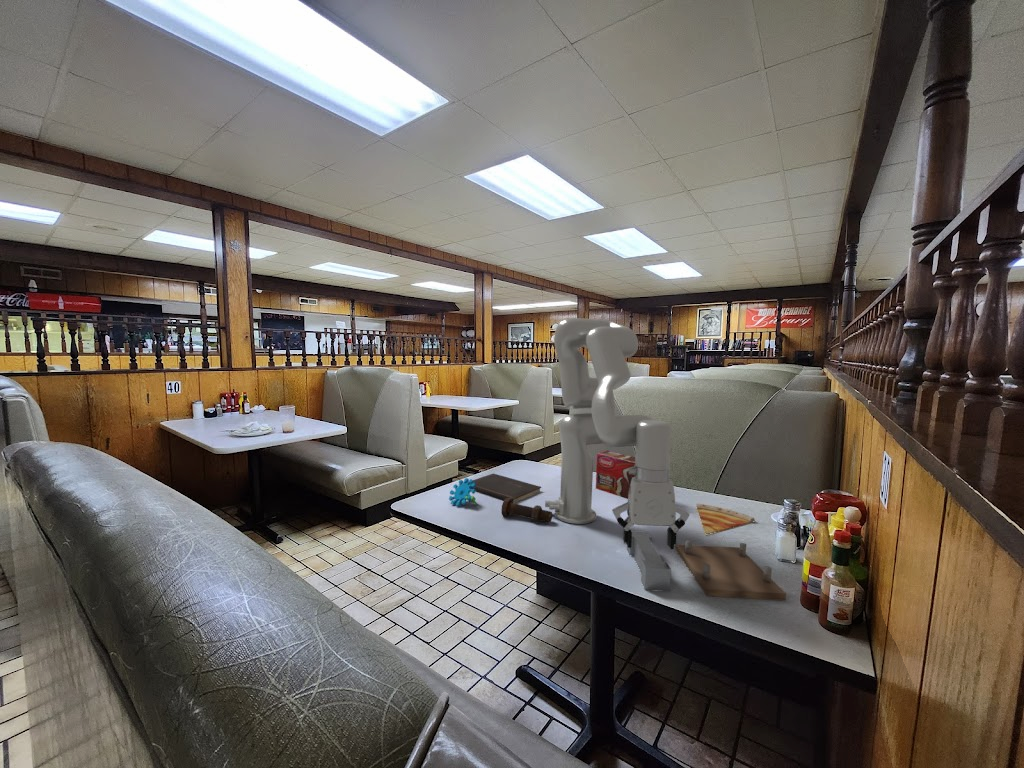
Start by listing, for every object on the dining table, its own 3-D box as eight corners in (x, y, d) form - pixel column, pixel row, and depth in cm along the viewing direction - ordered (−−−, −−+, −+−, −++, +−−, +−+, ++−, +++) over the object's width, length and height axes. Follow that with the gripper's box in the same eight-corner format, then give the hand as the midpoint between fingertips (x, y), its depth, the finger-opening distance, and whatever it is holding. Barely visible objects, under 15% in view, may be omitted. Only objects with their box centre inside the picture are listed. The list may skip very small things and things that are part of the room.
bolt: (549, 530, 122) (503, 519, 127) (554, 516, 126) (509, 506, 131) (547, 517, 119) (499, 507, 124) (553, 504, 122) (506, 494, 128)
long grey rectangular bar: (644, 590, 89) (645, 567, 89) (626, 549, 107) (627, 530, 107) (669, 591, 89) (670, 569, 89) (647, 550, 107) (648, 531, 107)
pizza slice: (662, 516, 130) (662, 510, 130) (709, 505, 140) (709, 499, 140) (705, 537, 116) (706, 530, 116) (754, 523, 127) (755, 517, 126)
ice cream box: (595, 488, 153) (597, 453, 152) (606, 485, 158) (607, 450, 156) (644, 504, 139) (646, 465, 137) (654, 500, 143) (656, 462, 142)
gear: (442, 495, 138) (462, 472, 141) (452, 504, 141) (472, 481, 144) (460, 511, 129) (481, 485, 132) (470, 520, 133) (490, 495, 136)
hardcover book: (493, 479, 163) (493, 473, 163) (541, 493, 149) (541, 486, 149) (463, 489, 151) (463, 483, 151) (512, 505, 136) (513, 498, 136)
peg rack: (706, 595, 88) (708, 575, 87) (675, 549, 108) (676, 533, 107) (785, 600, 87) (787, 579, 86) (739, 553, 107) (740, 536, 106)
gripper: (616, 477, 93) (614, 552, 94) (696, 479, 92) (693, 555, 93) (610, 468, 100) (608, 537, 101) (684, 470, 99) (681, 540, 100)
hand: (649, 546), depth 97 cm, fingers open, 9 cm apart
